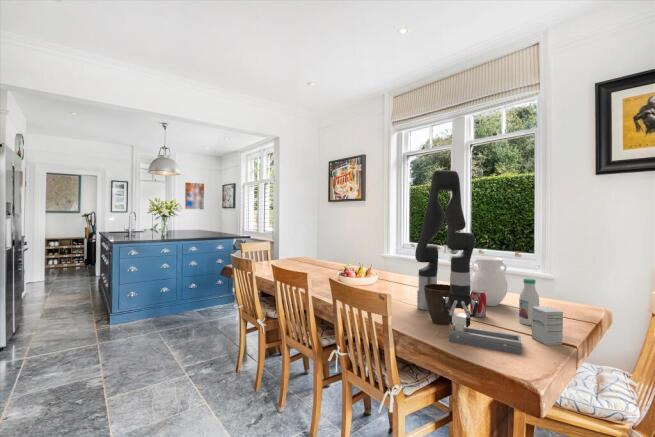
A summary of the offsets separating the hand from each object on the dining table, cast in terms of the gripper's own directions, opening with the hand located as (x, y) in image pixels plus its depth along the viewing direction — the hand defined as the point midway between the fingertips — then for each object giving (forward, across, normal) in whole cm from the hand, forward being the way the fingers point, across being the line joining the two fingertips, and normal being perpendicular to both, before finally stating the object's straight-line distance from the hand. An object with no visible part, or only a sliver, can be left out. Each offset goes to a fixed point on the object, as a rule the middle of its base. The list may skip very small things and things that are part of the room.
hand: (459, 325), depth 130 cm
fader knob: (+3, 0, 0) cm, 3 cm away
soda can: (+5, +4, +35) cm, 36 cm away
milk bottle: (+5, +25, +34) cm, 42 cm away
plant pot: (+5, -10, +16) cm, 20 cm away
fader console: (+5, +9, 0) cm, 10 cm away
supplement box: (+5, +30, +13) cm, 33 cm away
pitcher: (+5, +7, +61) cm, 62 cm away
